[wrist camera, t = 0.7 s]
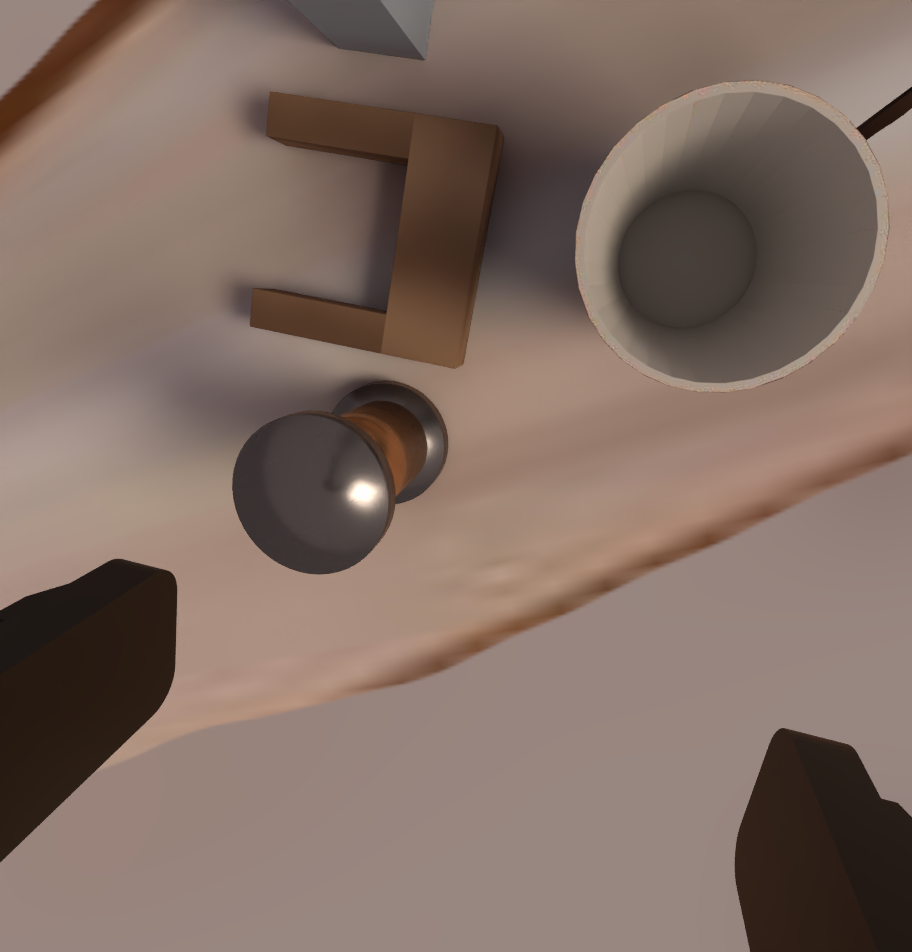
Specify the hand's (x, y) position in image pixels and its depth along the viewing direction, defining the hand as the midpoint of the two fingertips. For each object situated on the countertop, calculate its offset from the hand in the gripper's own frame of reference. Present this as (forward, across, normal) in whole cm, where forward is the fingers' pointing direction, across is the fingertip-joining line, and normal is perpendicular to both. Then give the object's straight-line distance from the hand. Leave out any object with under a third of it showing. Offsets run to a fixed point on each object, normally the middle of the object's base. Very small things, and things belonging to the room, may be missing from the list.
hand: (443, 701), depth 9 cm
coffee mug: (+25, -5, -7) cm, 26 cm away
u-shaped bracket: (+24, +10, -6) cm, 27 cm away
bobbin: (+24, +8, +4) cm, 26 cm away
